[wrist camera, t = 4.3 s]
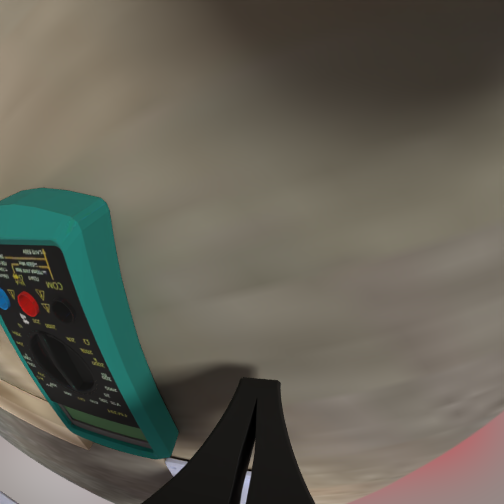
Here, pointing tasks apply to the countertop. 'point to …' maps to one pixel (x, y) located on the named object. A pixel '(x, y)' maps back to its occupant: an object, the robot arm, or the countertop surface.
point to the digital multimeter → (78, 321)
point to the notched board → (37, 413)
